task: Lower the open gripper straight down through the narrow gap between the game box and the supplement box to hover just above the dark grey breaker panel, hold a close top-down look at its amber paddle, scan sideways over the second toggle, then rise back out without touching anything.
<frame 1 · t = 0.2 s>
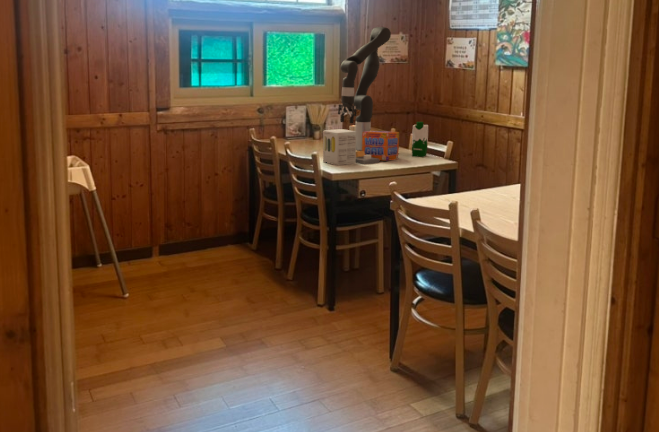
hand: (346, 122, 425), 17 cm above the table, tool pointing down, fingers open, 8 cm apart
milk carton: (419, 156, 416), on the table
breaker panel: (360, 161, 395), on the table
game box: (380, 159, 404), on the table, touching breaker panel
supplement box: (339, 163, 389), on the table
breaker paddle: (360, 154, 394), point 4 cm above the table, hinge at 20.0°
stack of blocks: (365, 145, 458), on the table
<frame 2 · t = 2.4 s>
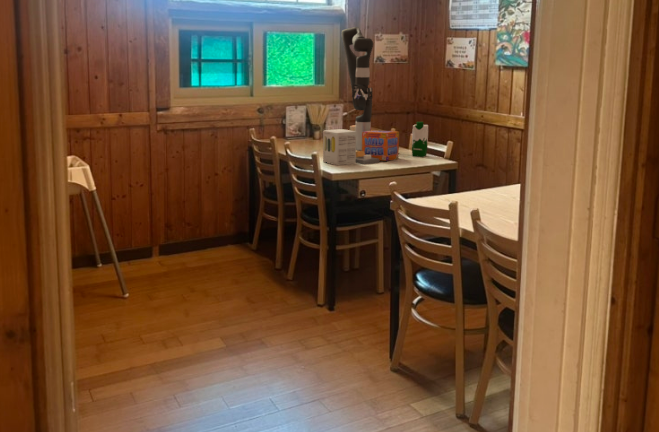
hand: (361, 106, 388), 30 cm above the table, tool pointing down, fingers open, 8 cm apart
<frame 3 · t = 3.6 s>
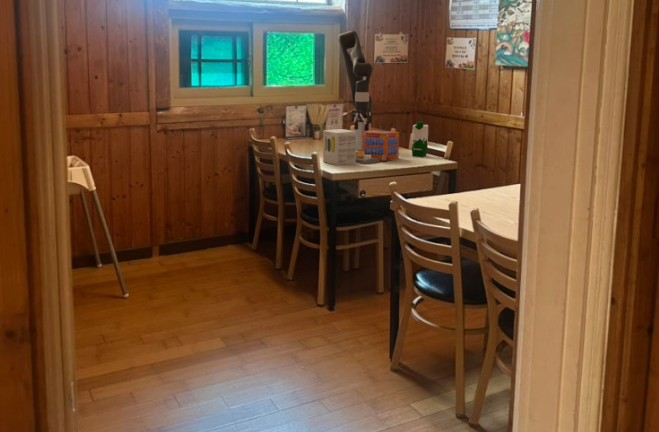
hand: (361, 130, 391), 17 cm above the table, tool pointing down, fingers open, 8 cm apart
nothing on the table moved.
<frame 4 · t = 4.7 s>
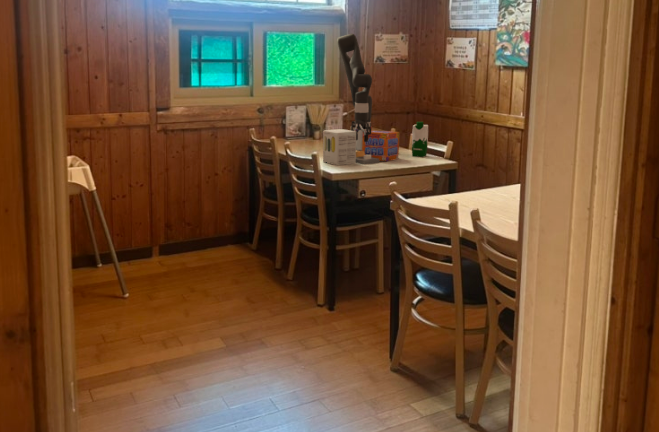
hand: (360, 140, 392), 11 cm above the table, tool pointing down, fingers open, 8 cm apart
nothing on the table moved.
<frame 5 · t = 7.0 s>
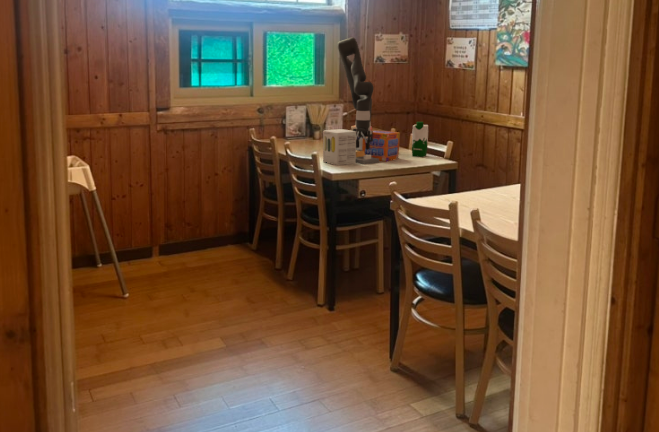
hand: (362, 148, 392), 7 cm above the table, tool pointing down, fingers open, 8 cm apart
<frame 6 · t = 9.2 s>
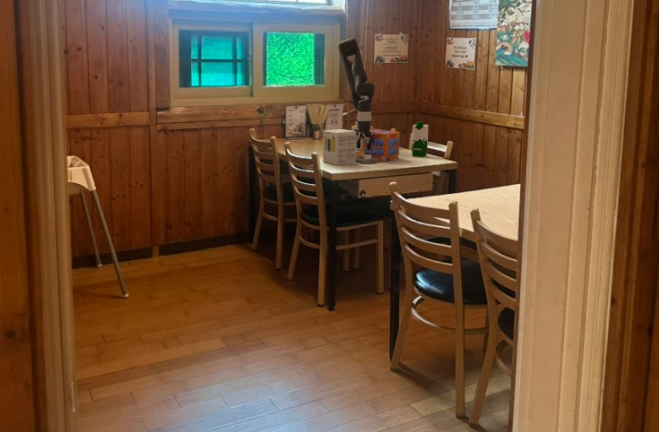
hand: (363, 149, 392), 7 cm above the table, tool pointing down, fingers open, 8 cm apart
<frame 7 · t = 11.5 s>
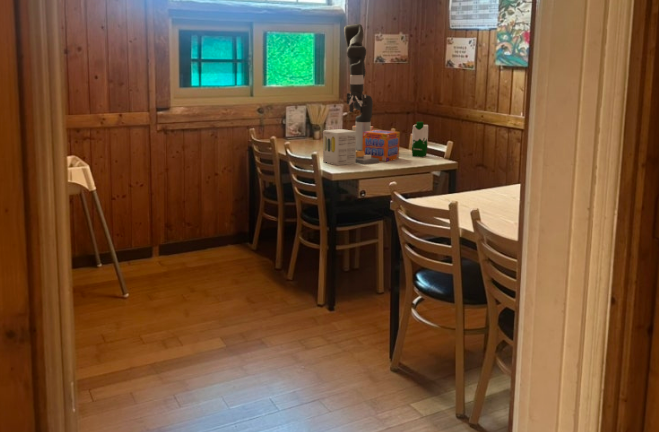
hand: (356, 112, 397), 26 cm above the table, tool pointing down, fingers open, 8 cm apart
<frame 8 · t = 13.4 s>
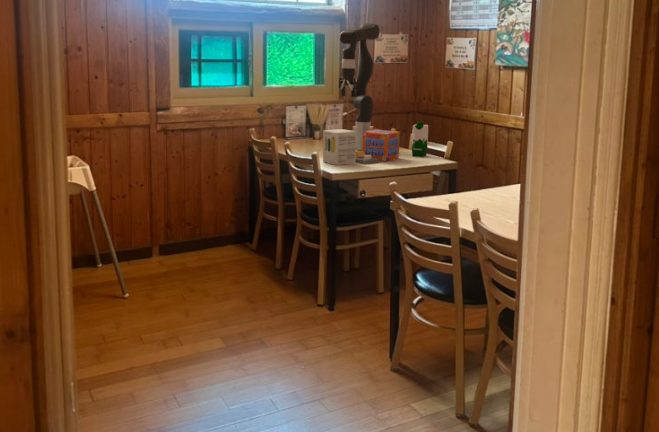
hand: (348, 96, 405), 34 cm above the table, tool pointing down, fingers open, 8 cm apart
at the end: breaker paddle at +20° (first picture: +20°); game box moved 0.6 cm from its start; supplement box moved 0.3 cm from its start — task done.
